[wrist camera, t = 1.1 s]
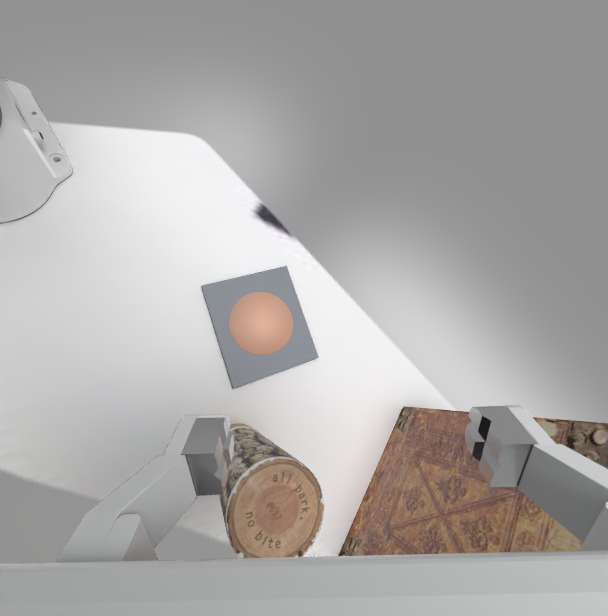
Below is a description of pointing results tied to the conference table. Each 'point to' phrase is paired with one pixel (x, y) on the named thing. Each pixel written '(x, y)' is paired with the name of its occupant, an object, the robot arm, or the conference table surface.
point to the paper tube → (269, 499)
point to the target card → (259, 325)
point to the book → (457, 493)
